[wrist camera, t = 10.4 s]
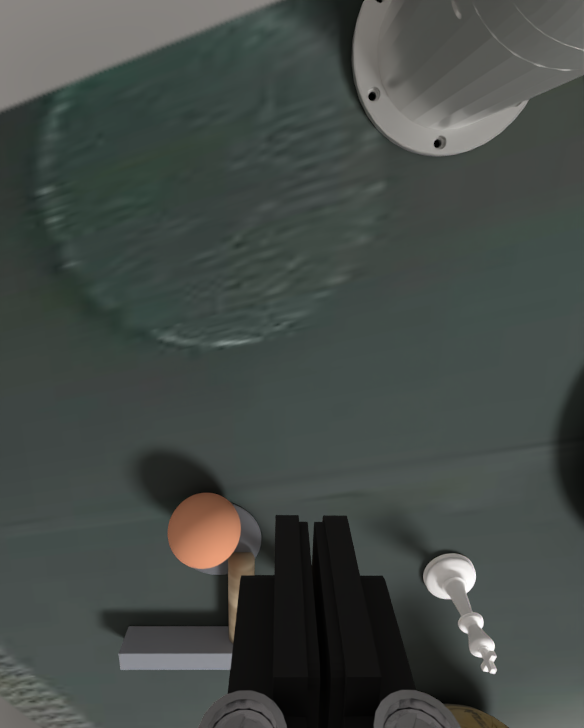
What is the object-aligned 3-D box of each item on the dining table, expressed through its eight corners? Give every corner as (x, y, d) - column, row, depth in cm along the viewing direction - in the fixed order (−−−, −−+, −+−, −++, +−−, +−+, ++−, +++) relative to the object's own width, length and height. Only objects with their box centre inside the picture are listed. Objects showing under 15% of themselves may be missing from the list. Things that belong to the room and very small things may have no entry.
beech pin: (258, 564, 42) (256, 641, 45) (249, 547, 44) (249, 621, 47) (232, 571, 41) (232, 649, 44) (224, 553, 43) (225, 628, 46)
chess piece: (415, 588, 46) (450, 688, 36) (434, 547, 44) (476, 640, 35) (461, 598, 46) (508, 700, 37) (482, 559, 45) (536, 654, 35)
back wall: (128, 626, 46) (118, 653, 43) (311, 626, 47) (313, 653, 44) (130, 641, 47) (120, 669, 44) (310, 641, 47) (312, 669, 44)
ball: (164, 576, 39) (184, 510, 44) (235, 585, 39) (247, 518, 43) (151, 543, 35) (174, 475, 40) (230, 553, 35) (245, 483, 39)
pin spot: (171, 500, 42) (171, 501, 42) (261, 501, 42) (261, 502, 42) (176, 573, 44) (175, 574, 44) (261, 573, 45) (261, 575, 44)
